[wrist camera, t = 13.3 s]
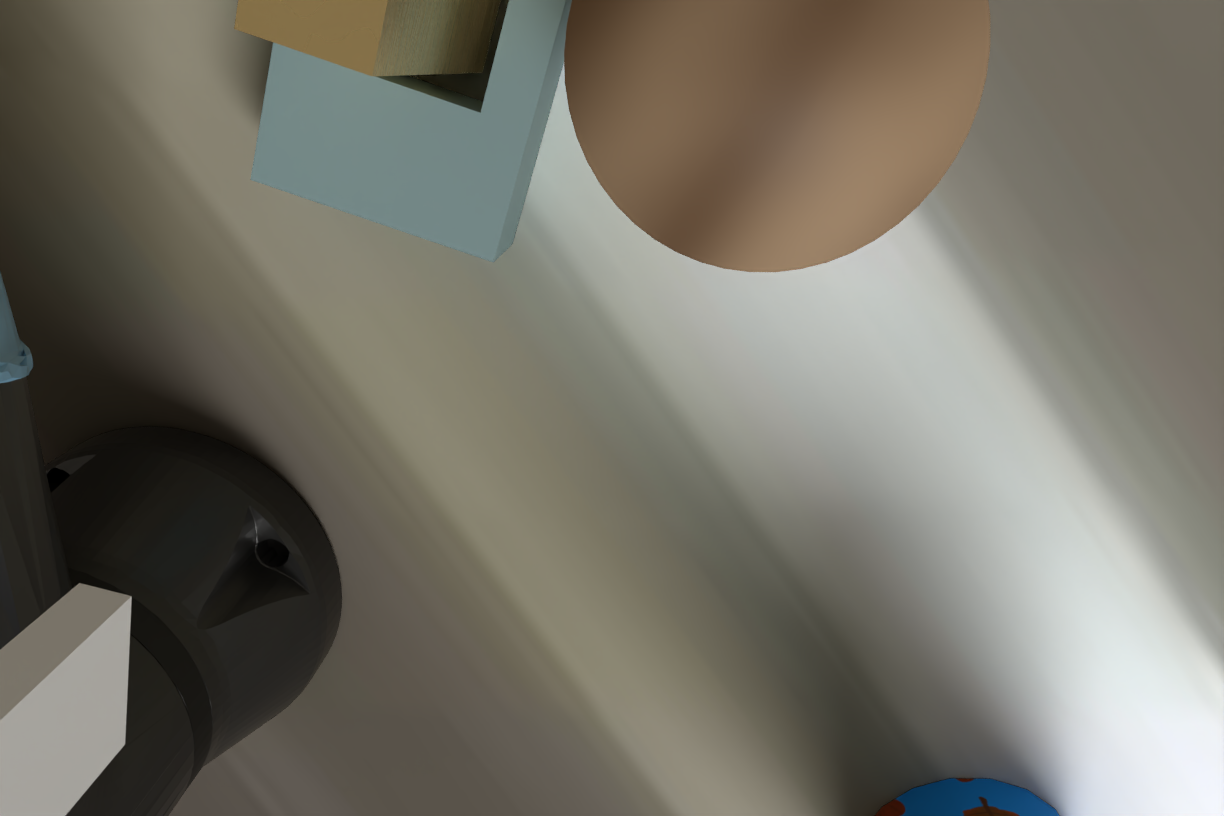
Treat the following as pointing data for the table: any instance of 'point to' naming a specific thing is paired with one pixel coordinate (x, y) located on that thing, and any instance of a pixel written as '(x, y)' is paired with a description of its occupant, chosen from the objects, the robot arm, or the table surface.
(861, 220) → the spool
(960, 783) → the thermos
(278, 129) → the notch board
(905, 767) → the table surface
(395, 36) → the tab
